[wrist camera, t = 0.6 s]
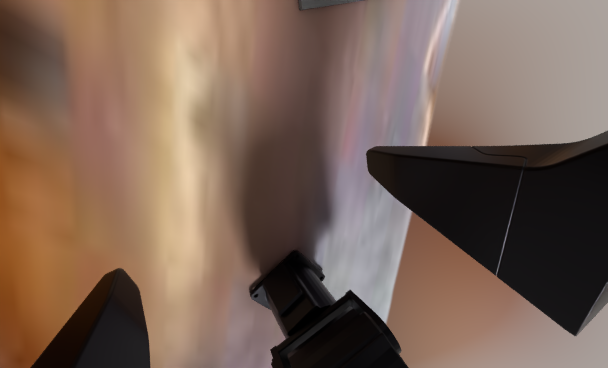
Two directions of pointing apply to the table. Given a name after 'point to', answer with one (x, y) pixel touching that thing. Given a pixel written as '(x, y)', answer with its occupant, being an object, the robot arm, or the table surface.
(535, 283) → the robot arm
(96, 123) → the table surface
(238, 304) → the table surface
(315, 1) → the mat
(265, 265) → the table surface
